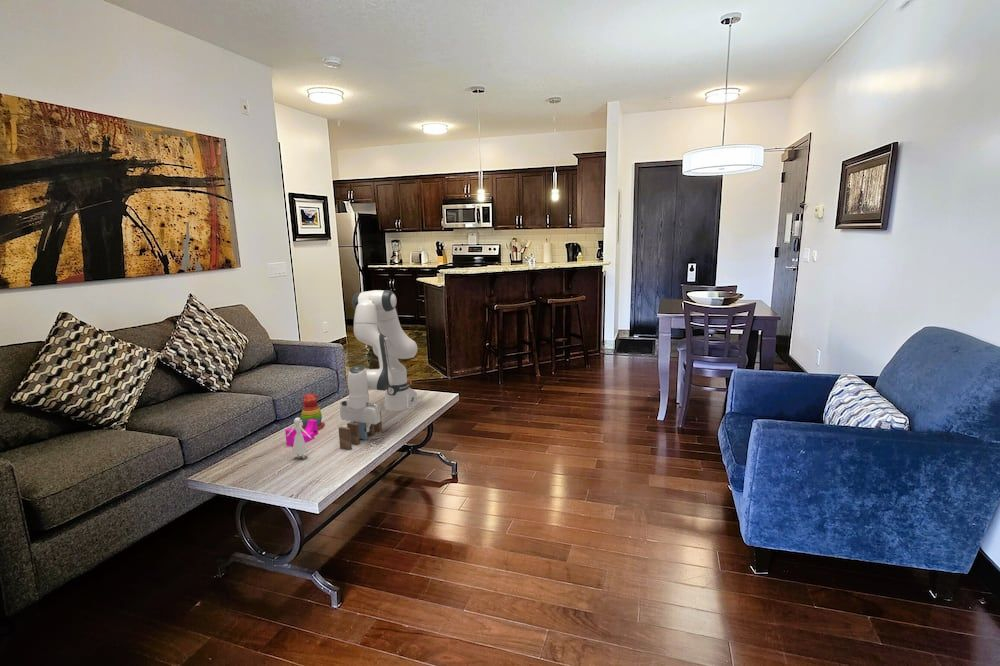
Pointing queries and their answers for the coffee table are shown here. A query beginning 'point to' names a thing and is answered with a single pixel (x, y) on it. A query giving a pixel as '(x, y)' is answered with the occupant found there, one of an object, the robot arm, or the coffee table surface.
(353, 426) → the domino
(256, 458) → the coffee table surface
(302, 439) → the woman figurine
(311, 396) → the stacking bear
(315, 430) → the toy block
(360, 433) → the domino
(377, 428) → the domino
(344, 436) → the domino
